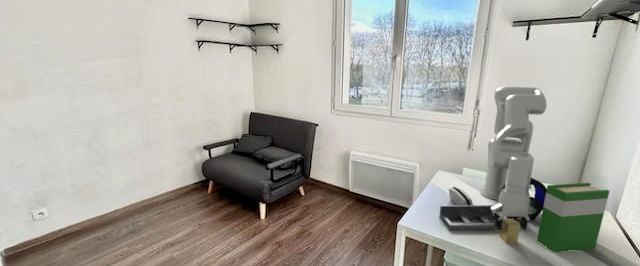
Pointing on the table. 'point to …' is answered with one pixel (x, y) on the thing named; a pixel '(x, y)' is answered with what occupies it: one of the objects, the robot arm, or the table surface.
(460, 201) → the white game console
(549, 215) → the hardback book
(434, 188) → the table surface
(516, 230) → the brass peg
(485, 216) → the grey slotted rack
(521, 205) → the robot arm
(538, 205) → the headphones
